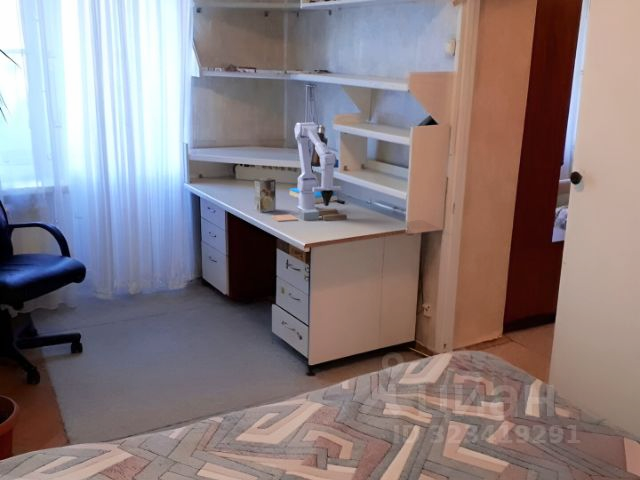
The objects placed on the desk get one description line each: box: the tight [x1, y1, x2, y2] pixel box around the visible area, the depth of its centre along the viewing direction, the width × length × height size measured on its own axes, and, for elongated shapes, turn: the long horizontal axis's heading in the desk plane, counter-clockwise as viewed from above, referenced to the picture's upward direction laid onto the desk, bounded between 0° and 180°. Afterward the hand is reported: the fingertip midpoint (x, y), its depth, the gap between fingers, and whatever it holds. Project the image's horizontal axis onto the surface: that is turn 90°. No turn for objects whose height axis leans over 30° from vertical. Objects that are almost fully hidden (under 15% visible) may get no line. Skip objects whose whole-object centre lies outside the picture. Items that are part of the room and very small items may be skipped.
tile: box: [271, 213, 299, 223], centre depth 323 cm, size 10×10×1 cm
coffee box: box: [253, 177, 277, 213], centre depth 336 cm, size 9×6×16 cm
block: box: [299, 209, 320, 221], centre depth 324 cm, size 5×8×4 cm, turn 115°
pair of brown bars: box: [317, 208, 348, 222], centre depth 329 cm, size 14×12×2 cm
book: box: [288, 187, 339, 204], centre depth 371 cm, size 17×4×25 cm
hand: (326, 205), depth 328 cm, fingers closed
